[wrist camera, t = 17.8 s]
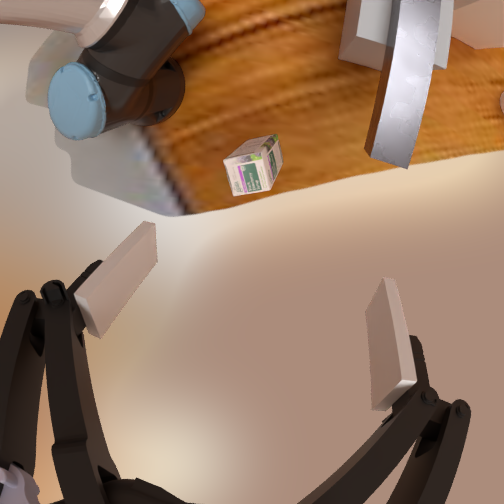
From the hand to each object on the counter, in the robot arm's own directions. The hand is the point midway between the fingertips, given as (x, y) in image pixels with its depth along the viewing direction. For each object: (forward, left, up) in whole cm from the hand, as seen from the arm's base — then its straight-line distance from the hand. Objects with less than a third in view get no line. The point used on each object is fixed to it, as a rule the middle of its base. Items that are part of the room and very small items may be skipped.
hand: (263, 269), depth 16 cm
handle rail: (+8, +18, -15) cm, 25 cm away
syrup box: (-6, -4, -39) cm, 39 cm away
